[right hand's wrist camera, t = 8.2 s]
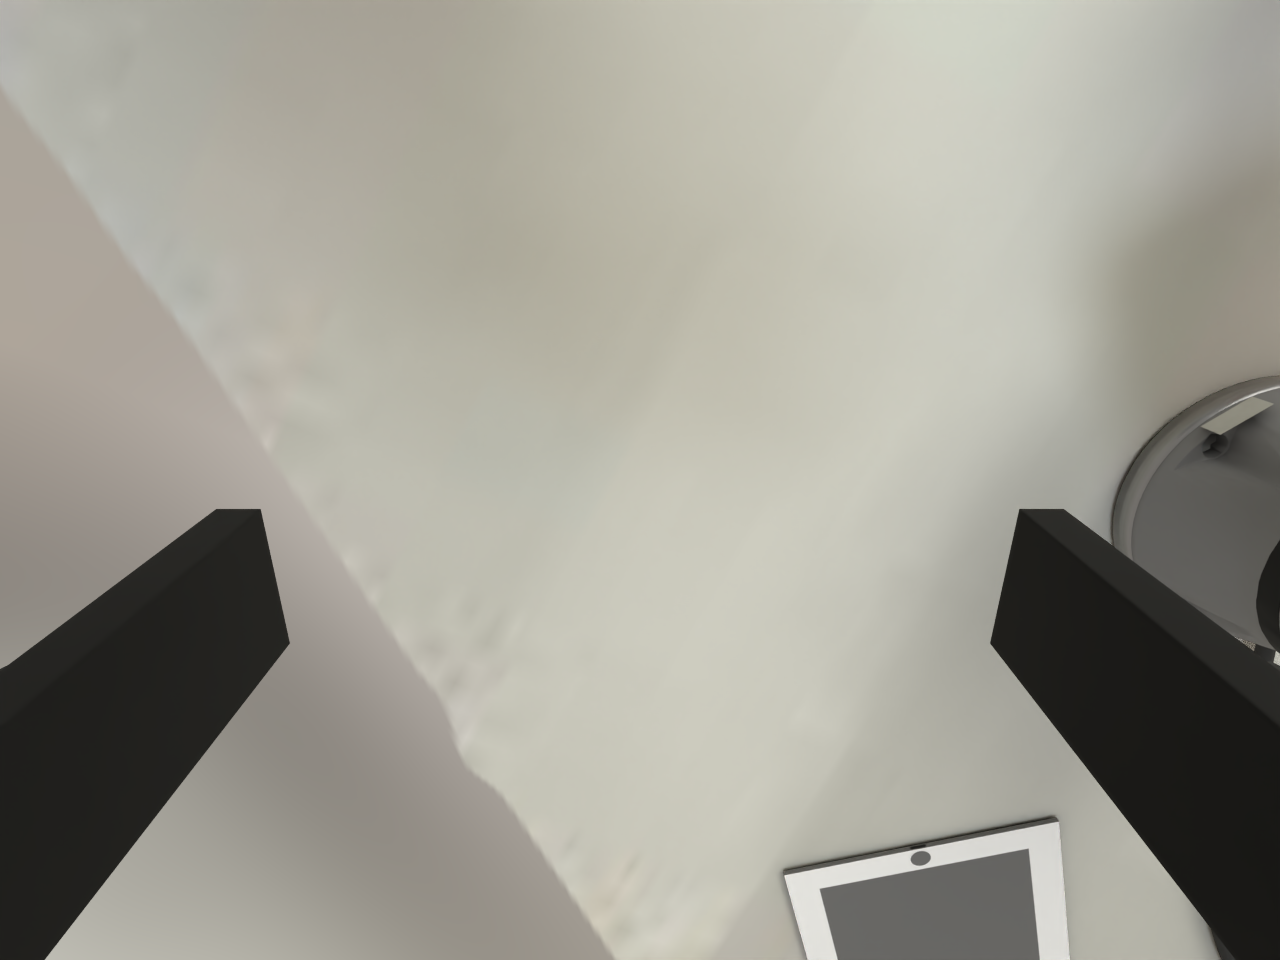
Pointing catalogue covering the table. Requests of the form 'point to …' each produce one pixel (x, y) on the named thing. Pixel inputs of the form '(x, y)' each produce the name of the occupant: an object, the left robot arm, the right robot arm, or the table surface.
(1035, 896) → the tablet
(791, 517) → the table surface
